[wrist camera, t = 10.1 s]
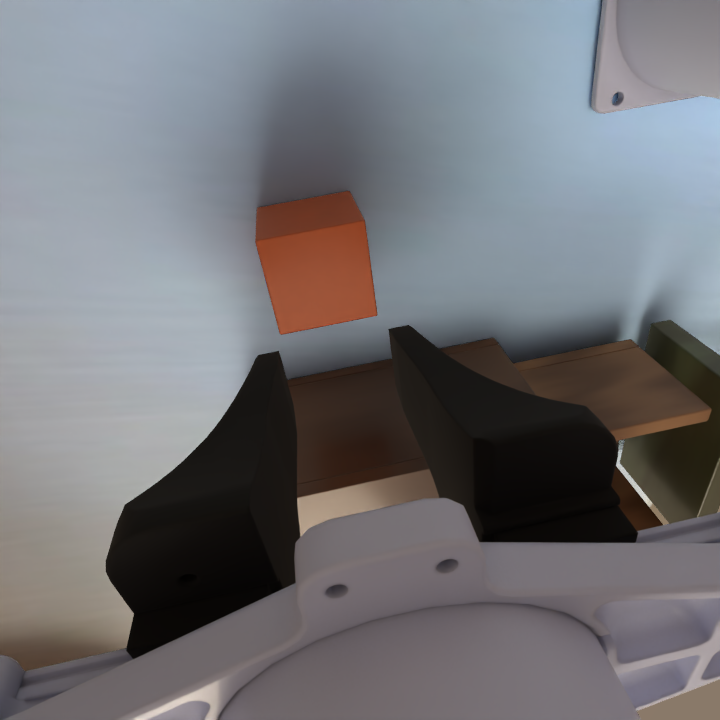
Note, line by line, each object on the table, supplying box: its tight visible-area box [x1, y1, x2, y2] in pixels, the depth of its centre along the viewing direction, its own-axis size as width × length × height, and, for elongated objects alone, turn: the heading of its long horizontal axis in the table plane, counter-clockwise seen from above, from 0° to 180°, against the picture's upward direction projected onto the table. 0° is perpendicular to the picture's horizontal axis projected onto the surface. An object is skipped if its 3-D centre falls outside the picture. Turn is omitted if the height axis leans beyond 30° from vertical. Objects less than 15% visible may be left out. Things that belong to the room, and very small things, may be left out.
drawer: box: [513, 320, 720, 531], centre depth 28 cm, size 18×11×7 cm, turn 98°
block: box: [255, 191, 377, 335], centre depth 22 cm, size 4×4×4 cm
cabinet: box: [287, 338, 537, 536], centre depth 28 cm, size 14×12×8 cm
